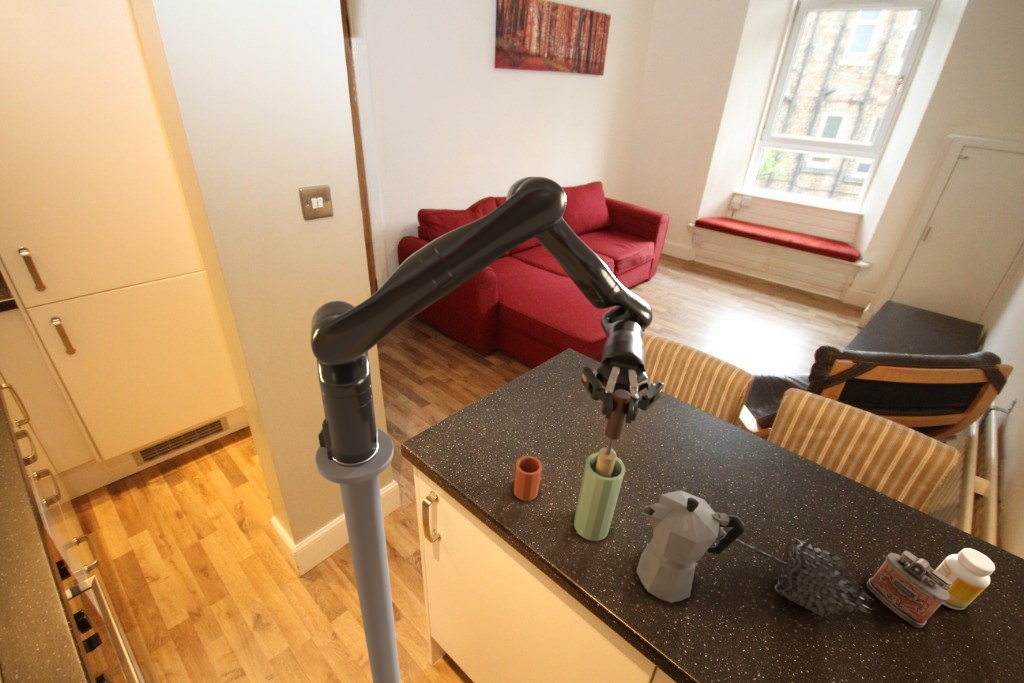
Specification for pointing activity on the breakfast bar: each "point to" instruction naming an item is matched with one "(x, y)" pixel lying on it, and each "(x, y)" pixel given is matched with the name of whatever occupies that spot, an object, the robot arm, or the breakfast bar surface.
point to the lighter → (910, 587)
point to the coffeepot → (681, 542)
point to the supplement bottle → (966, 576)
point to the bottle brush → (613, 433)
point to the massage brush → (813, 578)
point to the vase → (597, 500)
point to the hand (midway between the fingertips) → (619, 416)
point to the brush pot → (527, 478)
